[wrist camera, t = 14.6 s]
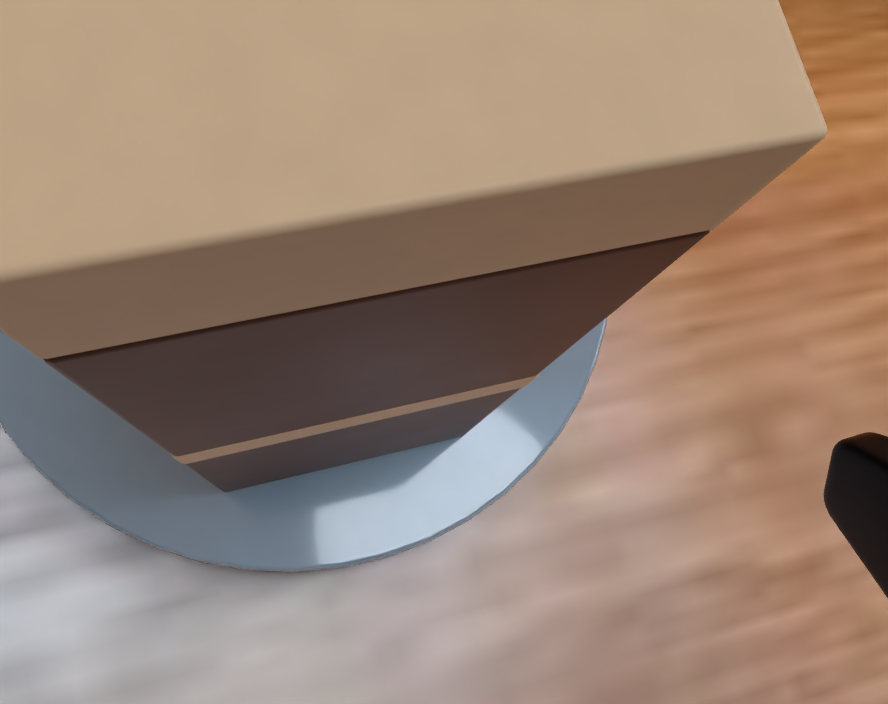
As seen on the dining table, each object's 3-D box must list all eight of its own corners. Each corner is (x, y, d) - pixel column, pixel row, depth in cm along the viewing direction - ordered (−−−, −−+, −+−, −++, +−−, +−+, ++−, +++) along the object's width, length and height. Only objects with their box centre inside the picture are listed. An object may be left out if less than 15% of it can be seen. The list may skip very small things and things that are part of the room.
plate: (579, 604, 17) (594, 607, 16) (-115, 530, 16) (-142, 527, 15) (612, 47, 21) (626, 22, 20) (55, -63, 19) (41, -96, 18)
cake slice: (466, 436, 17) (839, 138, 5) (221, 494, 16) (-69, 295, 4) (368, 59, 19) (463, -830, 7) (143, 89, 18) (-218, -903, 6)
